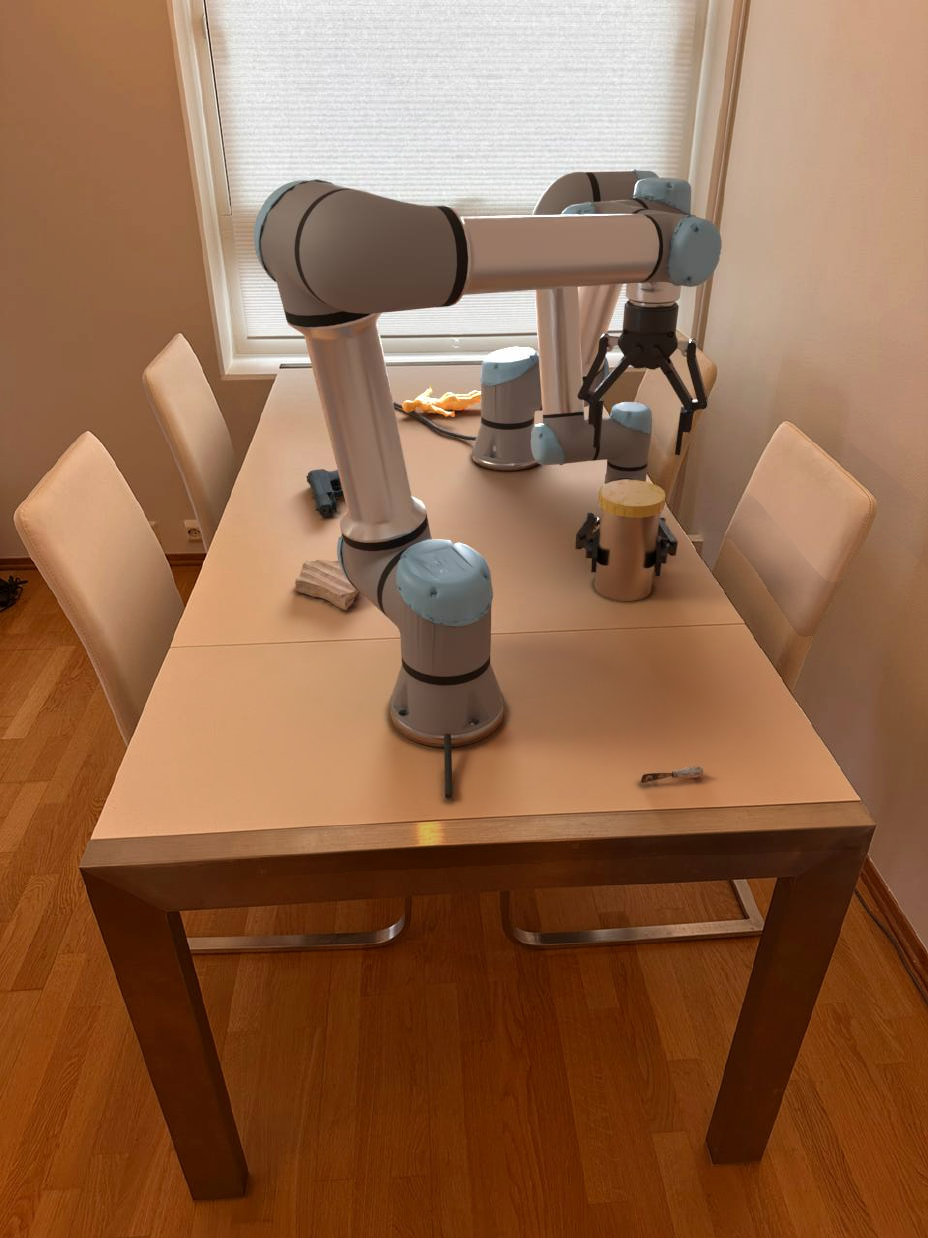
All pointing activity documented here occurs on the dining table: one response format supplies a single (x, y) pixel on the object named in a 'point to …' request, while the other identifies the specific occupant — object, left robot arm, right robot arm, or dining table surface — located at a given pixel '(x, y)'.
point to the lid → (631, 498)
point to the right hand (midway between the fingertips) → (626, 566)
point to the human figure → (442, 402)
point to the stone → (326, 583)
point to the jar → (626, 556)
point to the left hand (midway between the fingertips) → (636, 448)
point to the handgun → (325, 490)
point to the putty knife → (674, 774)
